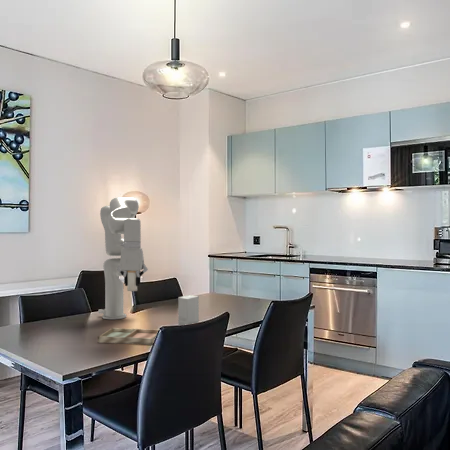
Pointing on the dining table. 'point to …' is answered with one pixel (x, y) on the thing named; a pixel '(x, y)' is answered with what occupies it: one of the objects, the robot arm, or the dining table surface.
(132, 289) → the cylinder
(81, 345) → the dining table surface
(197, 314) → the skincare box
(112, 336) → the sorting tray
